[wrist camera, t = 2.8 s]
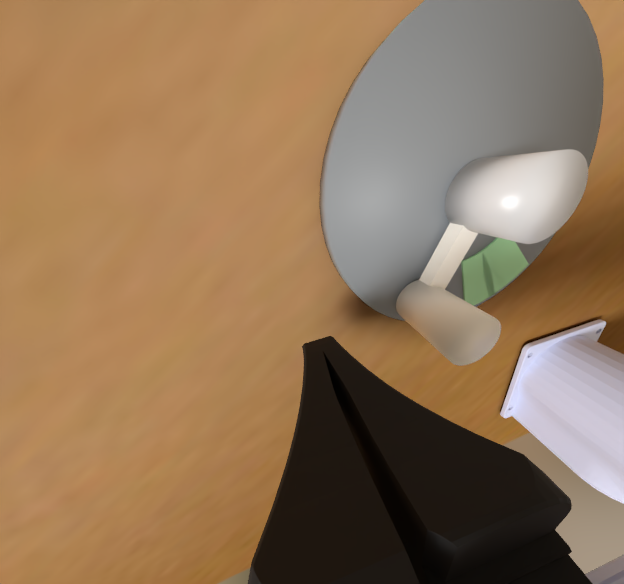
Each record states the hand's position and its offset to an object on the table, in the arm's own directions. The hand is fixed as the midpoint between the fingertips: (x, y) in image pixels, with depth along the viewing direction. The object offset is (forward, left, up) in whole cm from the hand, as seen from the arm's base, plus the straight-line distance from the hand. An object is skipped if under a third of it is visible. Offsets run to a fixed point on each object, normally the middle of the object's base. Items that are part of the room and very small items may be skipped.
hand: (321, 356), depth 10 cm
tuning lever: (+3, -7, -2) cm, 8 cm away
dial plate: (+5, -9, -3) cm, 10 cm away
